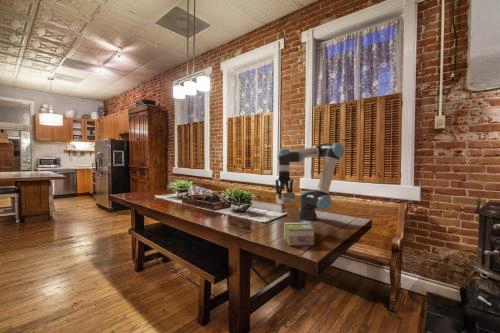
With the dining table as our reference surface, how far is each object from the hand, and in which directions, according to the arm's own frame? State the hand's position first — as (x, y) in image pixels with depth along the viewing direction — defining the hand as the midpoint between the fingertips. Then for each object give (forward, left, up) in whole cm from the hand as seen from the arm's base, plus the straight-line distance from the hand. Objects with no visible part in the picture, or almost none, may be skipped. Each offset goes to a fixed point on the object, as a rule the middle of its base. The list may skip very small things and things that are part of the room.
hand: (284, 203), depth 178 cm
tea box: (+21, -1, -13) cm, 25 cm away
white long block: (-1, 0, 0) cm, 1 cm away
